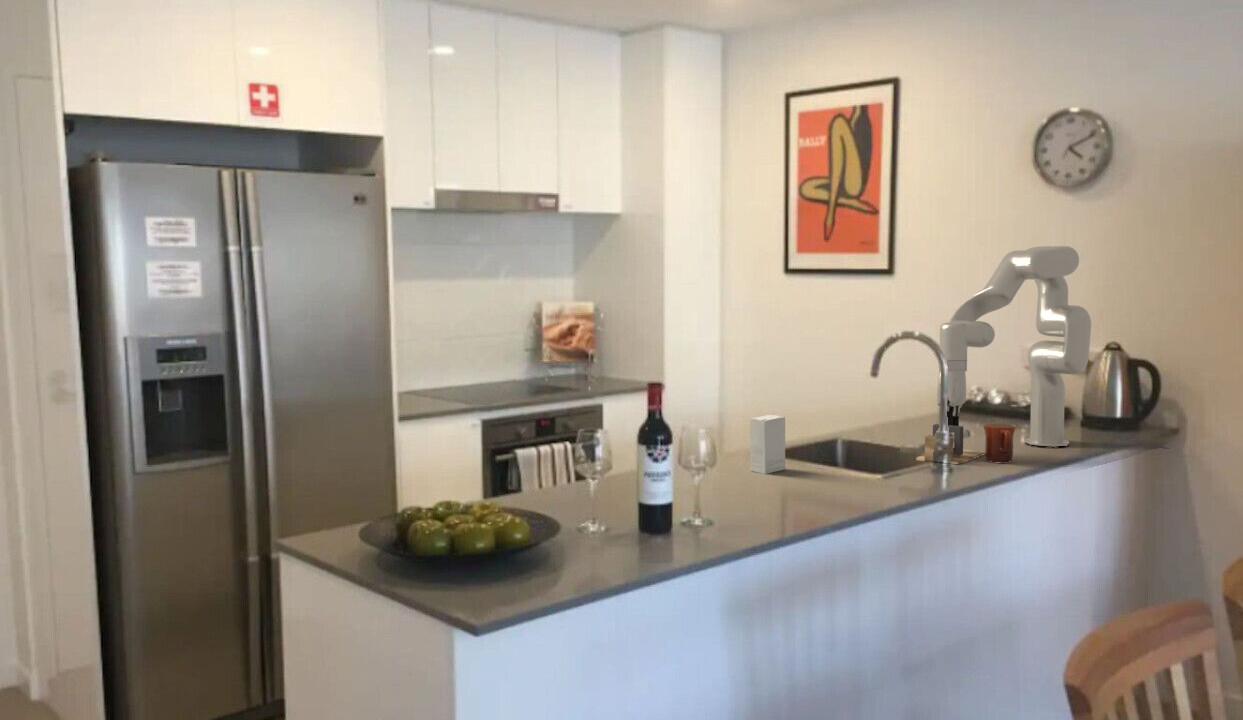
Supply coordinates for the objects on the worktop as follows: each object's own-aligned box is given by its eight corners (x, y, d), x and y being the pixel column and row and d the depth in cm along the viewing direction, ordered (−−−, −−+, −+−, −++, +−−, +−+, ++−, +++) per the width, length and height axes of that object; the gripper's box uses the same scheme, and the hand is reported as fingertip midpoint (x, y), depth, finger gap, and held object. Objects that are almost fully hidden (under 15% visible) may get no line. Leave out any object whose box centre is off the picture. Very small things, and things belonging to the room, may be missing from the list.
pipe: (961, 437, 310) (961, 429, 310) (970, 438, 308) (970, 429, 308) (935, 446, 296) (935, 437, 296) (944, 447, 295) (944, 438, 294)
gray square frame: (936, 451, 303) (936, 423, 303) (963, 454, 298) (963, 426, 297) (932, 452, 302) (932, 424, 301) (959, 455, 296) (959, 427, 296)
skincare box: (770, 467, 291) (770, 413, 290) (786, 470, 286) (786, 416, 285) (748, 471, 286) (748, 417, 284) (765, 474, 281) (765, 419, 280)
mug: (978, 458, 299) (978, 423, 299) (1009, 458, 299) (1009, 422, 298) (992, 466, 287) (992, 429, 287) (1024, 466, 287) (1025, 429, 286)
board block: (946, 450, 313) (946, 427, 313) (985, 454, 306) (986, 430, 305) (916, 460, 298) (916, 435, 298) (957, 465, 291) (957, 439, 290)
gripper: (951, 363, 308) (950, 425, 310) (929, 367, 297) (928, 431, 298) (976, 364, 303) (975, 427, 305) (954, 368, 292) (953, 434, 293)
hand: (952, 429), depth 301 cm, fingers closed
